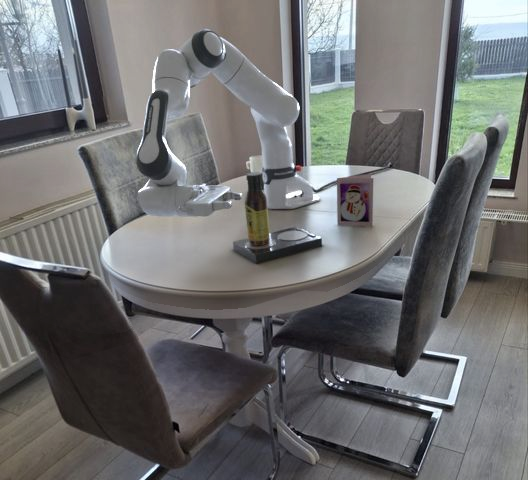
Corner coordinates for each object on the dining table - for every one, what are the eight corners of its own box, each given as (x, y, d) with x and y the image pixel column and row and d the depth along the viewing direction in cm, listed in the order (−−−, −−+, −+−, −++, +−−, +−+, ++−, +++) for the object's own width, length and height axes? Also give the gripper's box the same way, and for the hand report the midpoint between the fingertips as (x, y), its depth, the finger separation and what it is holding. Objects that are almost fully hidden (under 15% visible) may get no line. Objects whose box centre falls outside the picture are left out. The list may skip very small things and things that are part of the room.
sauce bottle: (248, 241, 151) (241, 172, 141) (269, 238, 151) (263, 169, 142) (249, 248, 146) (242, 176, 136) (271, 245, 146) (265, 174, 136)
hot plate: (295, 234, 162) (295, 225, 160) (321, 246, 150) (321, 236, 149) (233, 250, 154) (232, 241, 152) (256, 263, 142) (255, 254, 140)
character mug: (274, 185, 225) (272, 154, 218) (269, 189, 219) (267, 158, 213) (251, 186, 228) (248, 155, 222) (245, 189, 222) (242, 158, 216)
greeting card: (336, 226, 166) (336, 178, 158) (342, 219, 171) (342, 173, 164) (371, 227, 162) (372, 178, 154) (376, 220, 167) (377, 173, 160)
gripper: (174, 199, 138) (222, 198, 134) (202, 182, 154) (245, 181, 151) (178, 222, 141) (225, 222, 137) (205, 203, 157) (247, 202, 154)
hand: (236, 200), depth 144 cm, fingers open, 8 cm apart
